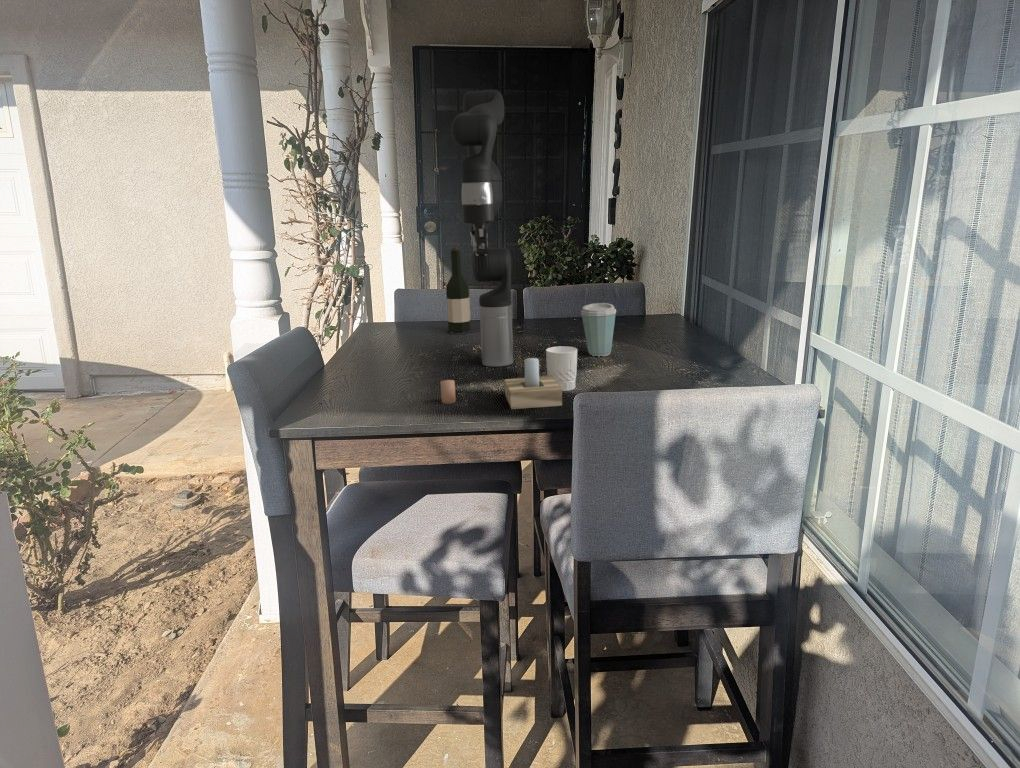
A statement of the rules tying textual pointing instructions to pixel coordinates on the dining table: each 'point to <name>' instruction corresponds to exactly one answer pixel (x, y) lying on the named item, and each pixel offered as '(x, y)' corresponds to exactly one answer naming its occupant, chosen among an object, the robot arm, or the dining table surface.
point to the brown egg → (448, 391)
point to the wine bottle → (458, 297)
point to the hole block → (533, 393)
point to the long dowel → (531, 372)
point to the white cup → (562, 366)
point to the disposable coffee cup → (599, 327)
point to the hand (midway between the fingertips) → (480, 270)
